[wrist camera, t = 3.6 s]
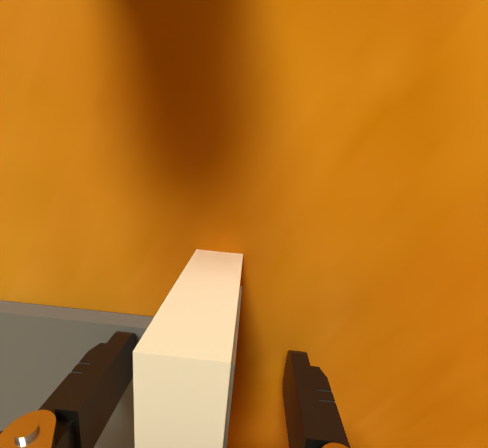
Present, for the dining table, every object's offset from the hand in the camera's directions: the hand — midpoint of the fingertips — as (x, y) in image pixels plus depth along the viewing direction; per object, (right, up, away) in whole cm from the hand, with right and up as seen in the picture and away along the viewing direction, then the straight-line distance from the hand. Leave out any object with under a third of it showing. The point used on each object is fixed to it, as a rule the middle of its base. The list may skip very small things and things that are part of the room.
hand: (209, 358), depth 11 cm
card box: (0, 0, +1) cm, 1 cm away
